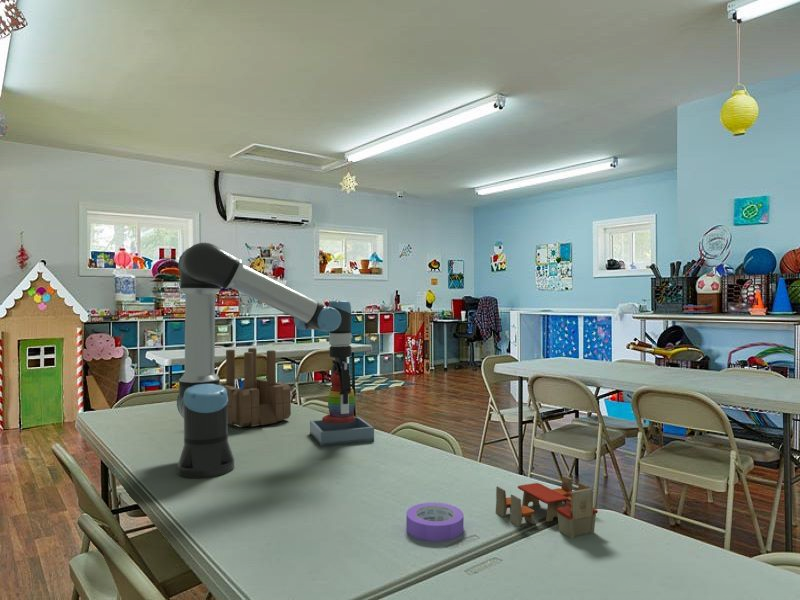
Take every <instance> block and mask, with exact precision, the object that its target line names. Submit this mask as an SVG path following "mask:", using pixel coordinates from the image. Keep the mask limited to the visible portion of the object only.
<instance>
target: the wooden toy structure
mask: <svg viewBox="0 0 800 600" xmlns="http://www.w3.org/2000/svg"><path fill="white" fill-rule="evenodd" d="M235 351H236V350H235V349H226V350H225V369H226V370H225V373H226V374H225V375H226V377H225V378H226V381H219V383H220V384H219V385H221V386H223V387H224V388H226V390H227V396H228V425H231V426H234V425H237V426H239V427H241V428H242V427H248V426H251V427H254V426H264V425H270V424H276V423H278V422H280V421H283V420H287V419H289V418H290V416H291V414H292V411H291V407H292V406H291V405H292V404H291V402H292V401H291V399H292V398H291V388H290V385H289V384H288V383H284V382H281V381H277V378H276V377H277V375H276V373H277V372H276V371H277V368H276V366H277V364H276V362H277V361H276V360H277V359H276V358H277V357H276V355H277V354H276V350H273V349H272V350H266V379H263V378H258V376H257V375H258V374H257V373H258V371H257V369H258V368H257V363H258V362H257V359H258V357H257V355H258V354H257V348H256V347H249V348H247V351H246V352H244V353H243V359H244V360H243V361H244V362H243V366H244V367H243V369H244V370H243V371H244V372H243V374H244V376H243V377H244V378H243V380H242V388H240V387H236V362H235V361H236V356H235V355H236V352H235Z"/></svg>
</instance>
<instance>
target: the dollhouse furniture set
mask: <svg viewBox="0 0 800 600" xmlns="http://www.w3.org/2000/svg"><path fill="white" fill-rule="evenodd" d="M577 486H578V487H577V490H573V478H571V477H569V476H568V475H565V474H564V475H562V476H561V487H560V488H553V489H552V488H549V487H548V486H545V485H543V484H542V483H539V482H536V483H535V482H534V483H528V484H521V485H517V489H519V490H520V491H522V492H523V494H522V500H521V498H519V497H518V496H516V495H514V494H510V497H509V496H508V497H507V494H506V490H505V489H504V488H501V487H500V486H496V488H495V489H496V492H495V493H496V494H495V501H496V502H495V513H496V514H497V516H498V515H499V516H500V517H502V518H506V515H507V511H508V509H509V511H510V517H509V522H510V523H512V524H513V525H515V526H517V527H518V528H520V527H522V522H523V518H524V520H525V521H527V522H528V523H530V524H531V525H533V524H536V516H535V515H536V514H535V511H536V510H534V509H532V508H531V507H529V504H530V503H532V505H533V506H538V505H540V504H541V503H540V502H542V503H544V504H547V508H546V518H545V521H547V522H553V520H554V518H555V517H557V525H558V532H560V533H561V534H563V535H565V536H567V537H568V538H570V539H573V538H575V537H577V536H578V537H579V536H583V535H587V534H594V533H595V526H596V519H597V518H596V515H597V514H598V511H599V510H597V509H596V508H594V507H593V506H594V490H593V489H592V488H590V486H589V485H588V484H586V483H583V482H578V485H577ZM563 502H565V506H563V505H564V504H563Z"/></svg>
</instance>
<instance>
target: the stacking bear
mask: <svg viewBox="0 0 800 600" xmlns="http://www.w3.org/2000/svg"><path fill="white" fill-rule="evenodd" d="M329 380H330V382H331V387H330V389H329V393H328V397H327V407H328V412H329V413H328V414H326V415H323V417H322V418H321V420H322V421H323V422H326V423H335V424H343V423H350V422H353V421H354V420H355V417H356V416H355V414H354V411H355V407H356V397H355V392H354V389H353V388H352V386H351V385H350V387H351V393H349V413H346V414H341V395H340V394H339V393H340V392H341V386H340V378H339V376H338V372H337V370H336V371H334V372H333V374H331V375H330V377H329ZM351 380H352V376H351V374H350V382H351ZM332 384H333V386H332ZM345 390H346V389H345Z"/></svg>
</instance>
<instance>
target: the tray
mask: <svg viewBox="0 0 800 600" xmlns="http://www.w3.org/2000/svg"><path fill="white" fill-rule="evenodd" d="M354 417H355V420H354V421H353V422H350V423H343V424H335V423H326V422H323V421H322V419H316V420H309V434H310V435H311V436H312V437H313V439H314V440H315V441H316V443H317V444H318V445H319V446H320V447H328V446H337V445H338V446H339V445H348V444H356V443H365V442H375V427H374V425H373V426H372V424H371V423H368V422H367V421H366V420H364V419H363V418H361V417H360V416H354Z"/></svg>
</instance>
